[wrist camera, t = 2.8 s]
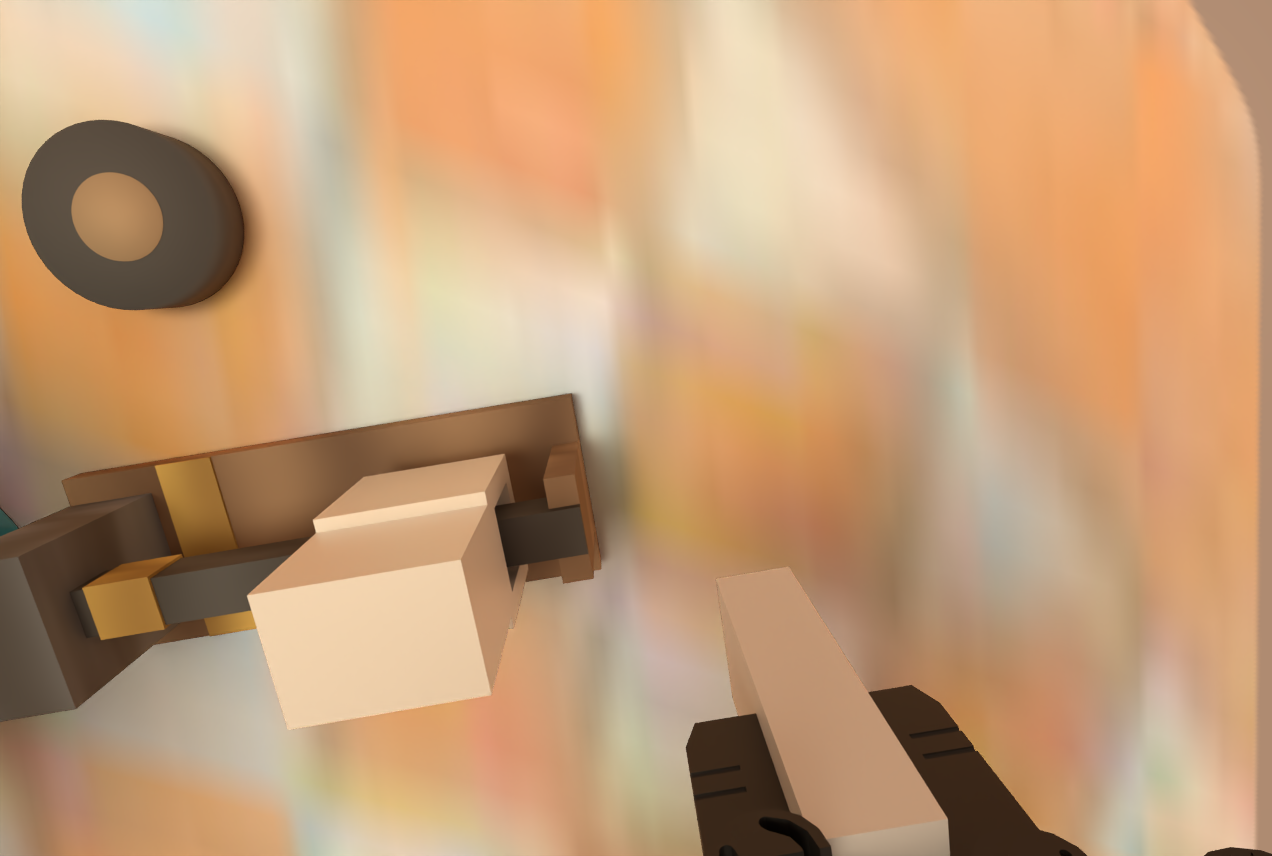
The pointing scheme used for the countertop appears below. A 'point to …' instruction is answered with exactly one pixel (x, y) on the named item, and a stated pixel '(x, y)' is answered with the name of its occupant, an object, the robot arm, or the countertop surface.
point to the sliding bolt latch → (249, 538)
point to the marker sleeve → (393, 596)
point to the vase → (6, 524)
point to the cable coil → (131, 216)
